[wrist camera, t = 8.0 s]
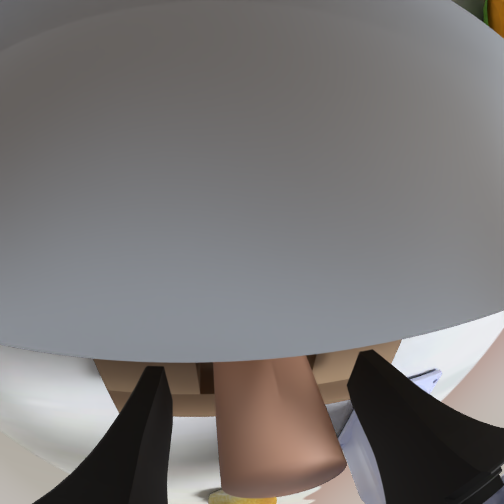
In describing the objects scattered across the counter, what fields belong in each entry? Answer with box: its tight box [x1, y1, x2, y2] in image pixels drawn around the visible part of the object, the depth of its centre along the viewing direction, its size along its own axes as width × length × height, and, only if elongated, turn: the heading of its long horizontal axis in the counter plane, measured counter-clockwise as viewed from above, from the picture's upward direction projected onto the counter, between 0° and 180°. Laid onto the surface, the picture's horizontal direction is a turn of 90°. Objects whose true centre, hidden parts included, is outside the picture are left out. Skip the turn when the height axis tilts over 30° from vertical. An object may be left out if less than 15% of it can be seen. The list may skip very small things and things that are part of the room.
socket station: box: [0, 0, 504, 417], centre depth 8 cm, size 15×14×8 cm
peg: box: [213, 355, 347, 498], centre depth 10 cm, size 4×4×8 cm
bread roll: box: [208, 489, 277, 504], centre depth 24 cm, size 8×9×4 cm
